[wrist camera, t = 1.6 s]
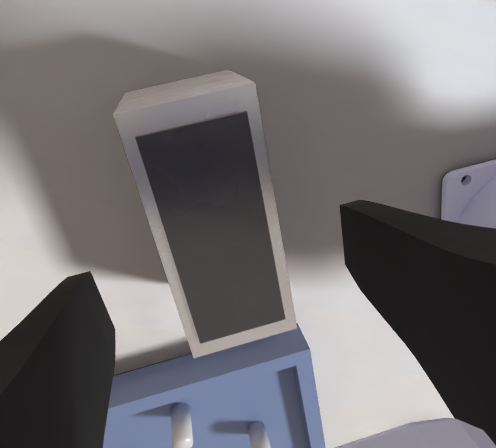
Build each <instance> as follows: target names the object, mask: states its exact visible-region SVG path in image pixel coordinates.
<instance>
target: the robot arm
mask: <svg viewBox="0 0 496 448" xmlns="http://www.w3.org/2000/svg"><path fill="white" fill-rule="evenodd" d="M465 175H466V177H465V180H464V181H463V182H461V180H462V178H463V177H464V176H465ZM340 214H341V225H342V236H343V246H344V257H345V265H346V267H347V268H348V270H349V272H350V274H351V275H352V277H353V279H354V280H355V282H356V283H357V285H358V287H359V288H360V290H361V291H362V292H363V294H364V295H365V296H366V297H367V299H368V300H369V301H370V302H371V304H372V305H373V306H374V307H375V308H376V310H377V311H378V312H379V313H380V314H381V316H382V317H383V318H384V319H385V320H386V322H387V323H388V324H389V325H390V326H391V328H392V329H393V330H394V331H395V332H396V334H397V335H398V336H399V337H400V338H401V340H402V341H403V342H404V343H405V344H406V346H407V347H408V348H409V350H410V351H411V352H412V354H413V355H414V356H415V358H416V359H417V361H418V362H419V364H420V365H421V367H422V368H423V370H424V371H425V373H426V374H427V376H428V377H429V379H430V380H431V382H432V383H433V385H434V386H435V388H436V389H437V391H438V393H439V394H440V396H441V397H442V399H443V401H444V402H445V404H446V405H447V407H448V408H449V410H450V412H451V413H452V415H453V416H454V418H455V419H453V418H442V419H435V420H427V421H420V422H412V423H408V424H405V425H402V426H399V427H396V428H393V429H390V430H387V431H384V432H381V433H378V434H375V435H372V436H369V437H366V438H363V439H359V440H356V441H353V442H350V443H347V444H344V445H341V446H338V447H335V448H496V159H495V160H491V161H487V162H483V163H480V164H476V165H472V166H468V167H464V168H461V169H457V170H453V171H450V172H448V173H447V174H446V175H445V177H444V178H443V182H442V209H441V219H437V218H433V217H428V216H424V215H420V214H416V213H412V212H409V211H405V210H401V209H397V208H394V207H390V206H386V205H382V204H378V203H374V202H370V201H364V200H357V201H354V202H350V203H346V204H342V205H340ZM114 366H115V328H114V325H113V323H112V321H111V318H110V316H109V314H108V311H107V309H106V307H105V304H104V302H103V300H102V297H101V295H100V293H99V290H98V288H97V286H96V284H95V281H94V279H93V277H92V274H91V272H90V271H89V272H85V273H81V274H78V275H74V276H70V277H67V278H66V279H65V280H63V281H62V282H61V283H60V284H59V285H58V286H57V287H56V288H55V289H54V290H53V291H51V292H50V293H49V294H48V295H47V296H46V297H45V298H44V299H43V300H42V301H41V302H40V303H39V304H38V305H37V306H36V307H35V308H34V309H33V310H32V311H31V312H30V313H29V314H28V315H27V316H26V317H25V318H24V319H23V320H22V321H21V322H20V323H19V324H18V325H17V326H16V327H15V328H14V329H13V330H12V331H11V332H9V333H8V334H7V335H6V336H5V337H4V338H3V339H2V340H1V341H0V448H103V442H104V434H105V427H106V420H107V414H108V407H109V401H110V394H111V387H112V380H113V373H114Z"/></svg>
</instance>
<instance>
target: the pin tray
mask: <svg viewBox="0 0 496 448" xmlns="http://www.w3.org/2000/svg"><path fill="white" fill-rule="evenodd" d="M296 324H297V323H296ZM103 448H325V442H324V435H323V429H322V423H321V416H320V410H319V404H318V397H317V391H316V385H315V378H314V372H313V366H312V359H311V353H310V348H309V346H308V344H307V342H306V340H305V338H304V336H303V334H302V332H301V330H300V328H299V326H298V324H297V328H296V329H293V330H290V331H286V332H283V333H279V334H276V335H272V336H269V337H266V338H262V339H259V340H255V341H252V342H248V343H245V344H242V345H238V346H235V347H231V348H228V349H224V350H221V351H217V352H214V353H211V354H207V355H204V356H200V357H197V358H193V355H192V354H188V355H185V356H181V357H178V358H175V359H171V360H168V361H164V362H161V363H157V364H154V365H150V366H147V367H143V368H140V369H136V370H133V371H130V372H126V373H123V374H119V375H116V376H113V380H112V387H111V394H110V401H109V407H108V414H107V420H106V427H105V434H104V442H103Z"/></svg>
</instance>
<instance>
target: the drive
mask: <svg viewBox="0 0 496 448" xmlns="http://www.w3.org/2000/svg"><path fill="white" fill-rule="evenodd" d="M113 117H114V120H115V123H116V126H117V129H118V132H119V135H120V138H121V141H122V144H123V147H124V150H125V153H126V156H127V159H128V162H129V165H130V168H131V171H132V174H133V177H134V180H135V183H136V186H137V189H138V192H139V195H140V198H141V201H142V204H143V207H144V210H145V213H146V216H147V219H148V222H149V225H150V228H151V231H152V234H153V237H154V240H155V243H156V246H157V249H158V252H159V255H160V258H161V261H162V264H163V267H164V270H165V273H166V276H167V279H168V282H169V286H170V289H171V292H172V295H173V298H174V301H175V304H176V307H177V310H178V313H179V316H180V319H181V322H182V325H183V328H184V331H185V334H186V337H187V340H188V343H189V346H190V349H191V352H192V355H193V358H197V357H200V356H204V355H207V354H211V353H214V352H217V351H221V350H224V349H228V348H231V347H235V346H238V345H242V344H245V343H248V342H252V341H255V340H259V339H262V338H266V337H269V336H272V335H276V334H279V333H283V332H286V331H290V330H293V329H296V328H297V324H296V318H295V313H294V307H293V301H292V295H291V289H290V283H289V277H288V272H287V266H286V260H285V254H284V248H283V242H282V236H281V231H280V225H279V219H278V213H277V207H276V201H275V195H274V190H273V184H272V178H271V172H270V166H269V160H268V154H267V149H266V143H265V137H264V131H263V125H262V119H261V114H260V108H259V102H258V96H257V90H256V84H255V82H253V81H251V80H249V79H247V78H245V77H243V76H241V75H239V74H236V73H234V72H232V71H230V70H224V71H219V72H215V73H210V74H206V75H201V76H197V77H192V78H188V79H183V80H179V81H174V82H170V83H165V84H161V85H156V86H152V87H147V88H143V89H138V90H134V91H129V92H125V94H124V95H123V97H122V99H121V101H120V103H119V104H118V106H117V108H116V110H115V112H114V113H113Z"/></svg>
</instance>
